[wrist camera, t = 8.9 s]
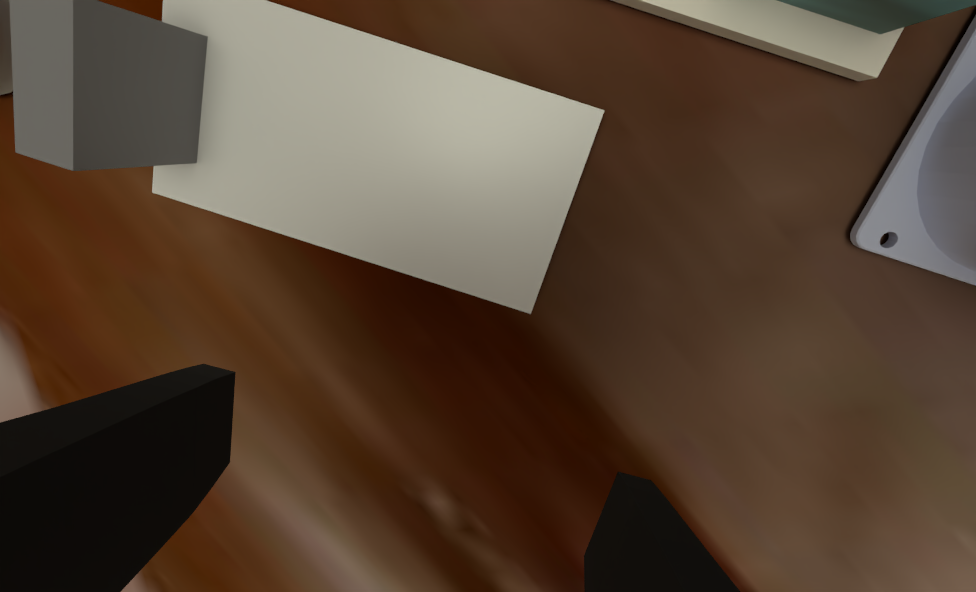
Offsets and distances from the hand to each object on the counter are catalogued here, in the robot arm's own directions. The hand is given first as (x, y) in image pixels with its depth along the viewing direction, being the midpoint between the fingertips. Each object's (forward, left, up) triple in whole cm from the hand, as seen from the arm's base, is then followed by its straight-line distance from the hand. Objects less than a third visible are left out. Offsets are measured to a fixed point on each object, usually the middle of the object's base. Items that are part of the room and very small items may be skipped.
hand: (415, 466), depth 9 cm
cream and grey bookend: (+5, -4, -9) cm, 11 cm away
